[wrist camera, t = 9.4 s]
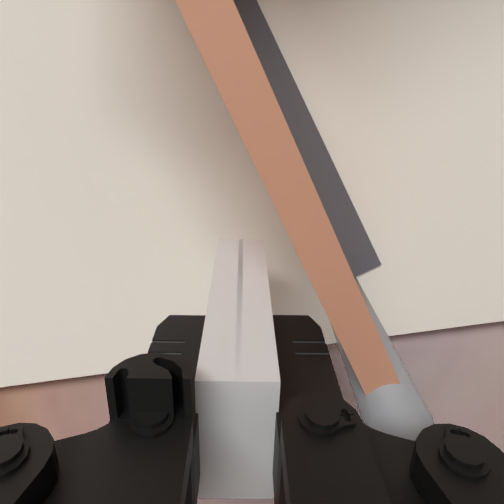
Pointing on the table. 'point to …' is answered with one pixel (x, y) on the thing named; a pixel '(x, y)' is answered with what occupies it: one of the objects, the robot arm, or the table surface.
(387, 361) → the fence panel
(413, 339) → the table surface
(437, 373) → the table surface
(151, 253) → the board
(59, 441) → the robot arm
